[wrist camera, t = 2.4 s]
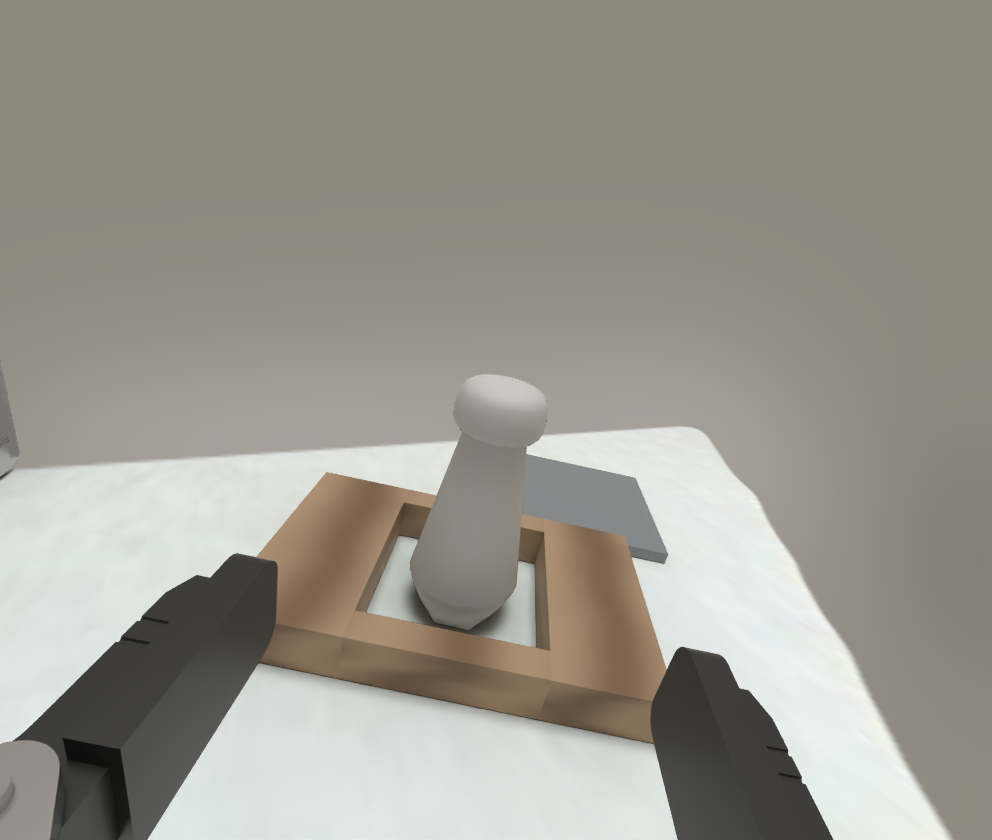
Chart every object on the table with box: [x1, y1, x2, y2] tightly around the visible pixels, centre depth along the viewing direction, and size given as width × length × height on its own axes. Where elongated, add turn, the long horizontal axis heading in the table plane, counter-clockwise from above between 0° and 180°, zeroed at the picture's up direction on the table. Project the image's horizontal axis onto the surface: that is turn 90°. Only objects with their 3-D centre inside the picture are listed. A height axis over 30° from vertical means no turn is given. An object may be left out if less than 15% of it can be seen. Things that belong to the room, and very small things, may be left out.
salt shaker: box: [410, 375, 548, 630], centre depth 24 cm, size 6×6×13 cm
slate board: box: [522, 454, 668, 563], centre depth 38 cm, size 12×11×1 cm
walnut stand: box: [257, 472, 667, 743], centre depth 26 cm, size 20×12×2 cm, turn 86°
